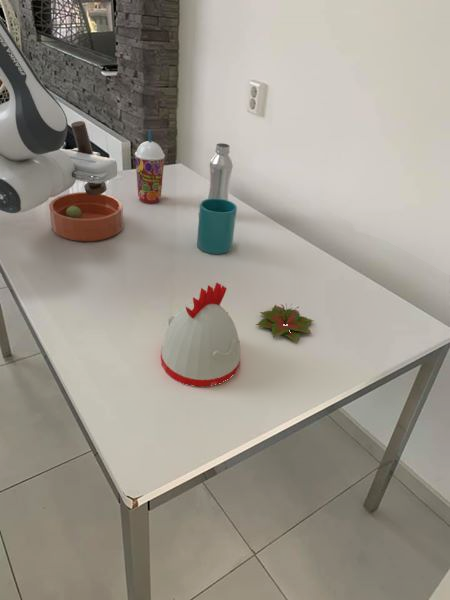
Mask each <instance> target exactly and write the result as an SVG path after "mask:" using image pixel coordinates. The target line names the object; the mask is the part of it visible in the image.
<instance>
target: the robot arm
mask: <svg viewBox="0 0 450 600" xmlns="http://www.w3.org/2000/svg"><path fill="white" fill-rule="evenodd" d="M0 81H1V82H2V84H3V85H4V87H5V89H6V90H7V92H8V95H9V99H8V100H7V101H5V102H3V103H1V104H0V211H2V212H4V213H8V214H21V213H25V212H28V211H30V210H32V209H35V208H37V207H39V206H41V205H43V204H44V203H46V202H47V201H48V200H49V199H50V198H54V197H57V196H58V195H61V194H62V193H64V192H66V191H67V190H69V189H70V188H72V187H73V186H74V185H75V183H76V181H80V182H84V183H87V182H89V183H102V182H105V183H106V182H108V181H111V180H113V179H114V178H116V177H117V176H118V163H117V161H116V159H115V158H110V157H105V156H101V153H100V152H99V151H98V152H97V151H93V152H92V153H90V154H85V153H80V152H79V151H78V148H77V147H74V148H73V149H65V148H63V146H64V144H65V142H66V139H67V136H68V130H69V129H68V128H69V125H68V118H67V115H66V113H65V111H64V109H63V108H62V106H61V104H60V103H59V102H58V101H57V99H56V98H55V97H54V96H53V95H52V94H51V93H50V91H49V90H48V88H46V86H45V84H43V82H42V80H41V79H40V77H39V76H38V74H37V73H36V71H35V70H34V68H33V66H32V65H31V63H30V61H29V59H28V58H27V57H26V56H25V54H24V53H23V51H22V49H21V47H20V46H19V44H18V43H17V42H16V39H15V38H14V37H13V35H12V34H11V31H10V30H9V29H8V27H7V25H6V24H5V23H4V21H3V19H2V18H1V17H0Z"/></svg>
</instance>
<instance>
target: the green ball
mask: <svg viewBox="0 0 450 600" xmlns="http://www.w3.org/2000/svg"><path fill="white" fill-rule="evenodd" d="M66 217H70V218H77V219H81V217H82V212H81V210H80V209H79V208H78V207H76V206H71V207H69V208H68V209H67V210H66Z"/></svg>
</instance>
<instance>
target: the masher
mask: <svg viewBox="0 0 450 600" xmlns="http://www.w3.org/2000/svg"><path fill="white" fill-rule="evenodd" d="M70 127H71V131H72V133H73V136H74V141H75V145H76V148H77V149H78V151H79V152H80V153H85V154H90V153H92V152H94V150H93V147H92V144H91V140H90V136H89V133H88V128H87V125H86V121H83V120H79V121H74V122H72V123H71V124H70ZM83 186H84V192H86V193H87V194H88V195H99V194H105V193H106V191H107V190H108V187H107V184H106V181H105V182H102V183H89V182H85V184H84V185H83Z"/></svg>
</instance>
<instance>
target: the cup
mask: <svg viewBox="0 0 450 600" xmlns="http://www.w3.org/2000/svg"><path fill="white" fill-rule="evenodd" d="M237 211H238V206H237V205H236V203H234V202H233V201H230V200H229V199H228V200H224V199H217V198H212V199H208V198H206V199H203V200H202V201H200V202H199V211H198V223H197V237H196V245H197V248H199V249H200V250H201V251H203V252H204V253H206V254H212V255H222V254H226V253H228V252H230V251H231V250H232V248H233V243H234V236H235V228H236V218H237Z"/></svg>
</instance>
